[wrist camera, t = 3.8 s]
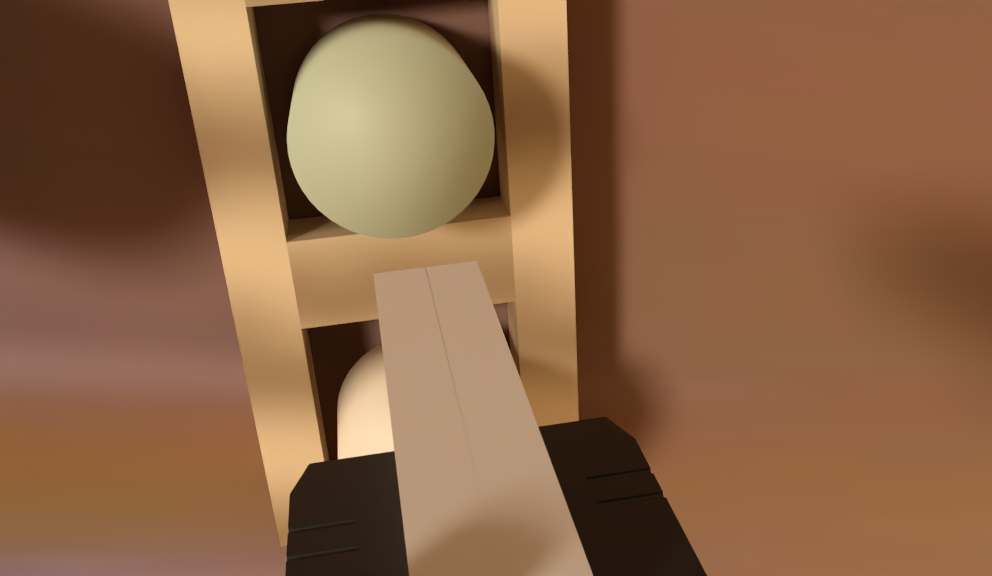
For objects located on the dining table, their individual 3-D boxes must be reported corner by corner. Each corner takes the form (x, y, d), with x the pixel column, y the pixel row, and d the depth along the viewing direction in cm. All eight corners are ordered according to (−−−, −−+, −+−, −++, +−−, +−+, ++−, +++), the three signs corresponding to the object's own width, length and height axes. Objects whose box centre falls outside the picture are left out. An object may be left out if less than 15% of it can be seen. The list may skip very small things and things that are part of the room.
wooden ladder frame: (81, -495, 22) (59, -526, 20) (533, -506, 23) (550, -536, 22) (283, 511, 35) (280, 546, 33) (568, 468, 36) (581, 499, 34)
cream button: (326, 345, 30) (326, 410, 27) (496, 322, 31) (518, 383, 27) (348, 485, 33) (351, 563, 29) (506, 462, 33) (527, 534, 30)
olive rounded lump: (278, 22, 27) (270, 47, 24) (467, 5, 28) (487, 27, 24) (307, 202, 30) (303, 249, 26) (480, 182, 30) (500, 226, 27)
